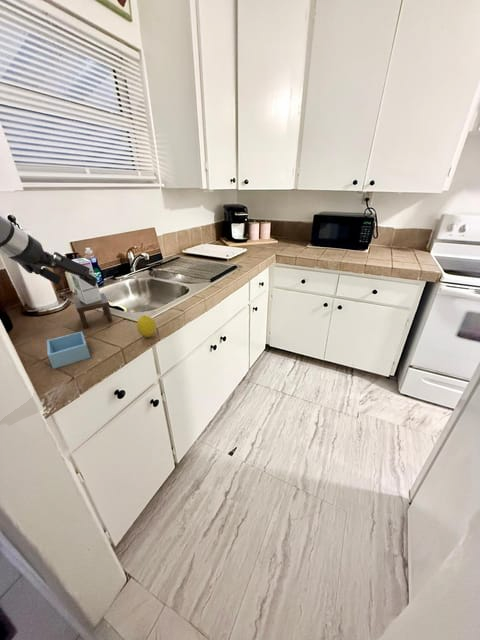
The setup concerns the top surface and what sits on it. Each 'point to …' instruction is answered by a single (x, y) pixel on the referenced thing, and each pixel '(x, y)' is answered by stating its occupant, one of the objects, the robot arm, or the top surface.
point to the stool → (86, 307)
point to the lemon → (146, 326)
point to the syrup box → (86, 285)
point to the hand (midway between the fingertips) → (77, 281)
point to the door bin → (67, 349)
